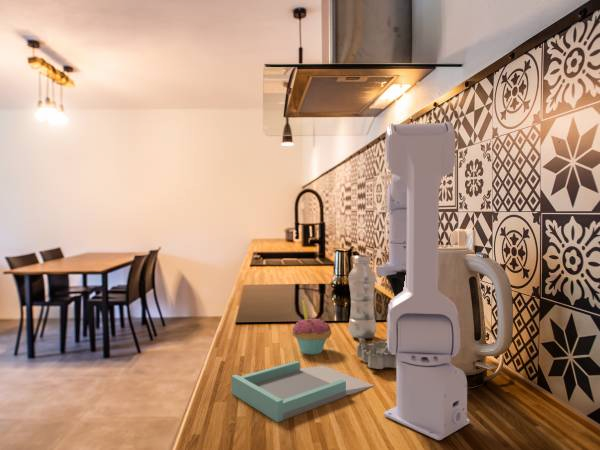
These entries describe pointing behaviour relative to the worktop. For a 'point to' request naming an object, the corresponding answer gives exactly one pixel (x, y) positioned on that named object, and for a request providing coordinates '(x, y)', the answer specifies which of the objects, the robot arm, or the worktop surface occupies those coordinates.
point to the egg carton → (376, 354)
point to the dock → (293, 389)
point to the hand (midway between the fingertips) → (402, 307)
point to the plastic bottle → (362, 298)
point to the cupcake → (311, 333)
